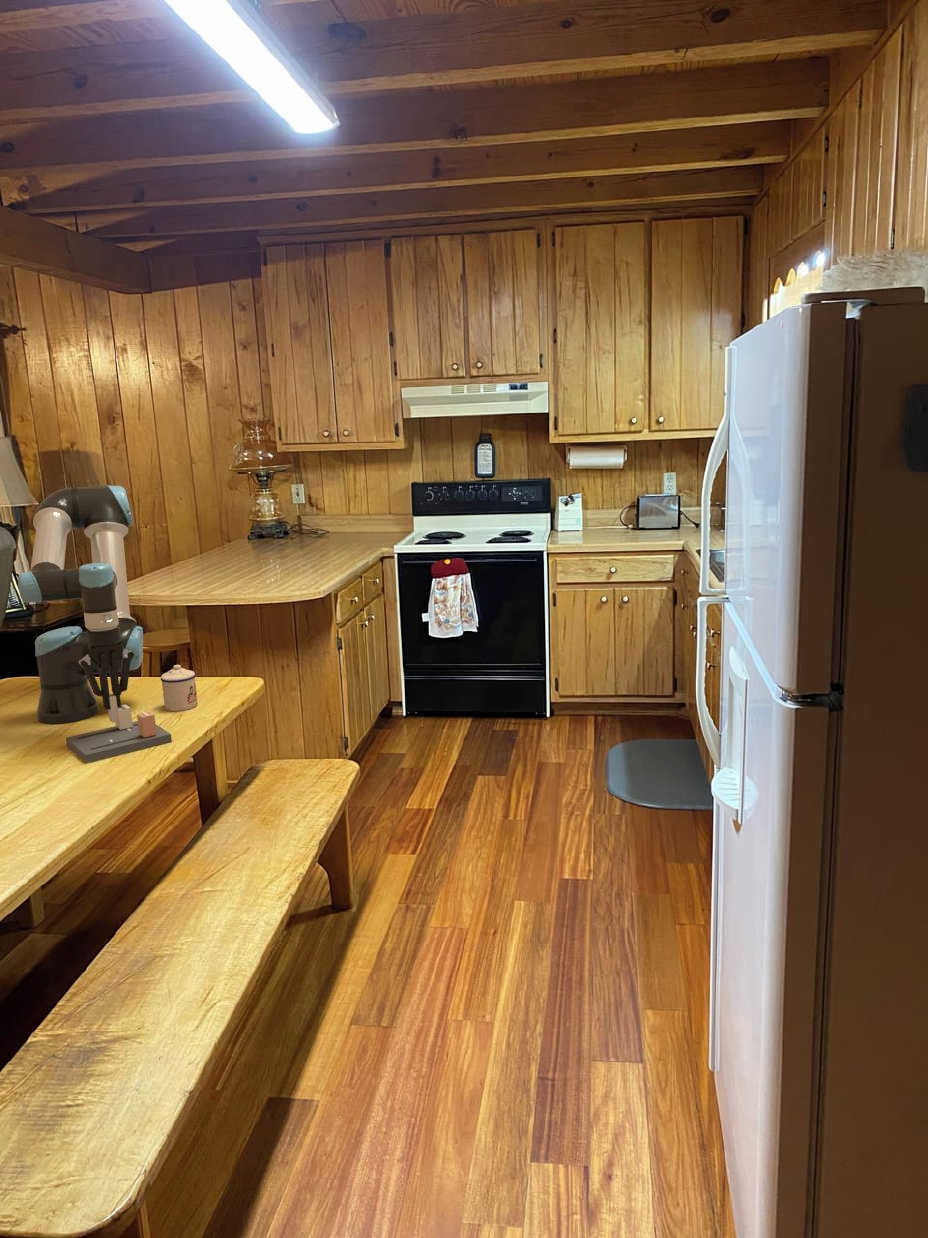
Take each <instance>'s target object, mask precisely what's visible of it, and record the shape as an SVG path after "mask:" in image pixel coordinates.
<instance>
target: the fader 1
mask: <svg viewBox="0 0 928 1238" xmlns="http://www.w3.org/2000/svg"><path fill="white" fill-rule="evenodd" d="M117 709H118V717H119V721H118V722H114V724H115V726H116V727H117V728H119V729H120V730H122V729H126V728H130V727H133V725H132V722H133V719H132V708H131V707H130V706H128V705H127V704H121V707H117Z"/></svg>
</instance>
